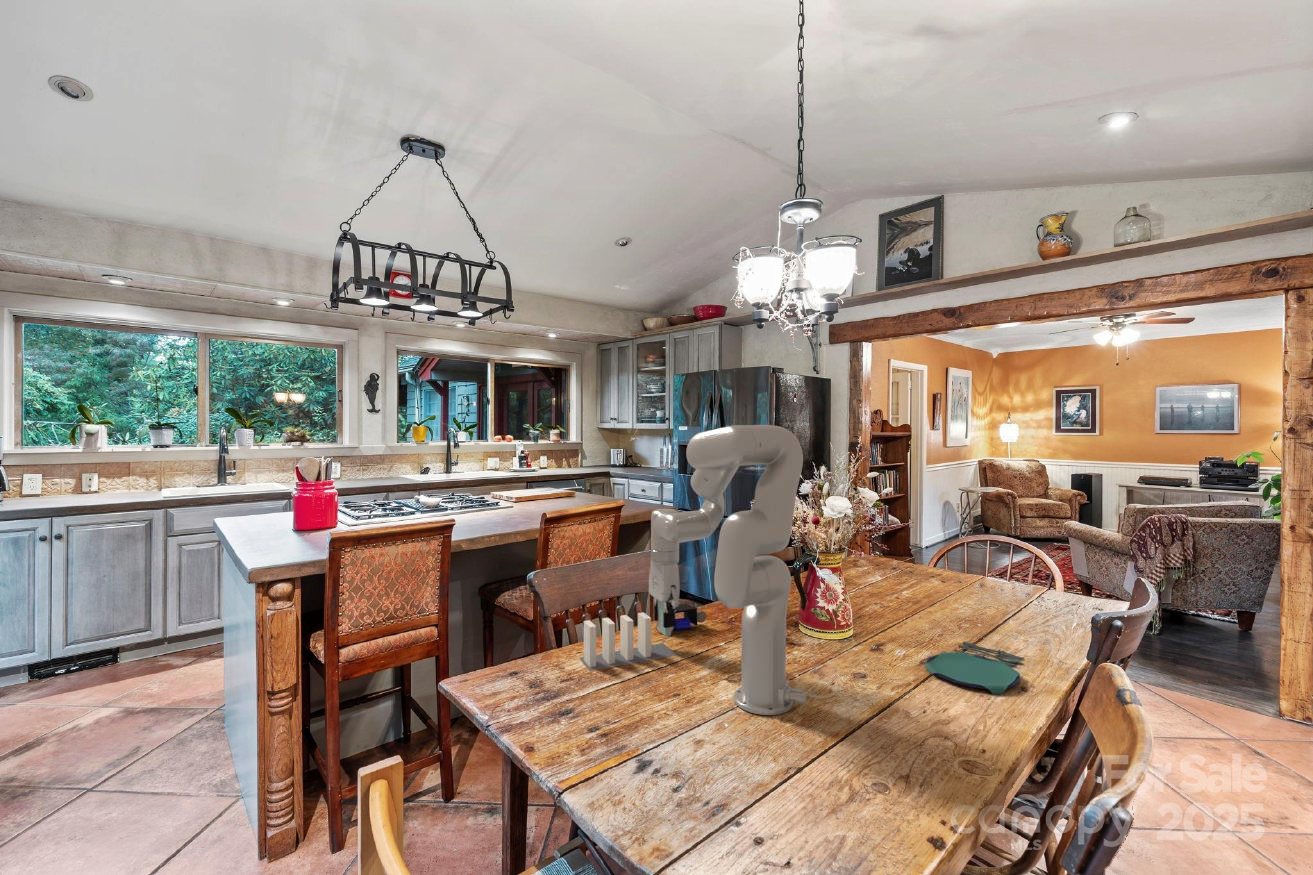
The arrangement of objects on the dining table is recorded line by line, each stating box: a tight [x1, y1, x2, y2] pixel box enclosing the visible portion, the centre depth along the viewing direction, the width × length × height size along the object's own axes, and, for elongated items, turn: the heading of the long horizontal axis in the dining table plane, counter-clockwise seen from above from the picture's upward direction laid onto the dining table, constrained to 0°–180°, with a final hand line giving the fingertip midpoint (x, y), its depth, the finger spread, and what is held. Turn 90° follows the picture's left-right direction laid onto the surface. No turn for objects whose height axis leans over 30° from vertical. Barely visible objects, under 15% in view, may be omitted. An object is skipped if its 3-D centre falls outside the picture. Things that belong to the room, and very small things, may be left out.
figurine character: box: [656, 603, 707, 634], centre depth 171 cm, size 7×8×15 cm
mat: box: [578, 642, 678, 672], centre depth 150 cm, size 24×9×1 cm, turn 115°
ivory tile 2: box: [619, 614, 634, 661], centre depth 150 cm, size 2×5×10 cm, turn 25°
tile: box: [656, 598, 672, 637], centre depth 155 cm, size 2×5×10 cm, turn 25°
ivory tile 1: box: [637, 612, 652, 657], centre depth 152 cm, size 2×5×10 cm, turn 25°
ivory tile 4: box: [583, 620, 597, 667], centre depth 146 cm, size 2×5×10 cm, turn 25°
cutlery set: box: [925, 641, 1025, 695], centre depth 143 cm, size 20×30×2 cm, turn 134°
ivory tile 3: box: [601, 617, 616, 664], centre depth 148 cm, size 2×5×10 cm, turn 25°
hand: (664, 622), depth 155 cm, fingers closed on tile, 4 cm apart
